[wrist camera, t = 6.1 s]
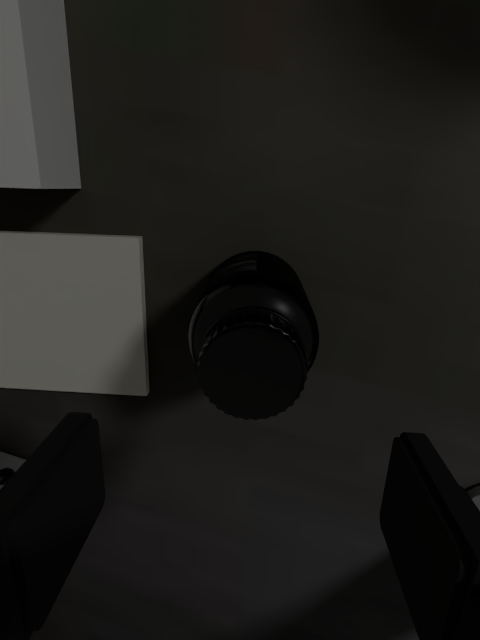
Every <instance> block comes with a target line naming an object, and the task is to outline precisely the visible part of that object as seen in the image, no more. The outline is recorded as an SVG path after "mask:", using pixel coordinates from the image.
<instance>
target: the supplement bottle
mask: <svg viewBox="0 0 480 640" xmlns="http://www.w3.org/2000/svg"><path fill="white" fill-rule="evenodd" d="M188 342H189V349H190V353H191V356H192V359H193V361H194V364H195V365H196V367H197V369H198V370H199V371H198V378H199V379H200V386H201V387H202V389H203V390H204V394H205V395H206V396H207V397H208V398H209V400H210V402H211V403H213V404H215V405H216V407H217V409H219V410H222V411H224V413H225V414H228V415H232V416H233V417H235V418H242V419H245V420H248V419H253V420H258V419H261V418H262V419H267V418H269V417H270V416H276V415H278V413H280V412H284V411H285V410H286V409H287V408H288V407H289V406H292V405H293V403H294V401H295V400H296V399H298V398H299V396H300V392H301V391H302V390H303V389H304V383H305V381H306V380H307V376H306V374H307V373H308V371H309V370H310V368H311V367H312V365H313V363H314V360H315V358H316V355H317V351H318V345H319V330H318V325H317V321H316V317H315V314H314V312H313V310H312V307H311V305H310V303H309V300H308V298H307V295H306V293H305V291H304V288H303V286H302V284H301V281H300V279H299V277H298V276H297V274H296V272H295V271H294V270H293V269H292V267H291V266H290V265H289V264H288V263H287V262H285V261H284V260H283V259H281V258H279V257H278V256H276V255H273V254H270V253H267V252H262V251H248V252H243V253H239V254H236V255H234V256H232V257H230V258H229V259H227V260H226V261H224V262H223V263H222V264H221V265H220V266H219V267H218V268H217V269H216V271H215V272H214V273H213V275H212V277H211V278H210V280H209V282H208V284H207V286H206V288H205V290H204V292H203V294H202V296H201V298H200V300H199V302H198V304H197V306H196V308H195V310H194V312H193V315H192V318H191V321H190V326H189V332H188Z"/></svg>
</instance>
